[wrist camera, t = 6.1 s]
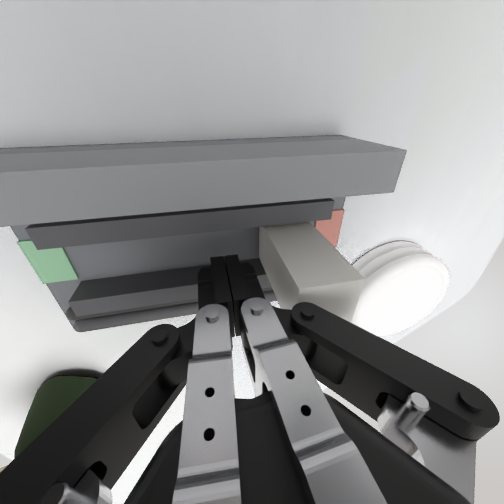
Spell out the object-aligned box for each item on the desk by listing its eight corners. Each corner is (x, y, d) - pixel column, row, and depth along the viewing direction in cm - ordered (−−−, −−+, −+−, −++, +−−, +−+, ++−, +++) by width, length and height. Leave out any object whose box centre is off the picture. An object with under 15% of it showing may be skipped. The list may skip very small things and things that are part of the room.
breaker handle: (259, 219, 15) (299, 289, 10) (302, 214, 16) (365, 278, 10) (259, 257, 17) (293, 336, 11) (298, 252, 18) (350, 325, 12)
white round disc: (405, 218, 21) (438, 237, 19) (433, 274, 27) (463, 295, 24) (317, 286, 24) (335, 312, 21) (359, 325, 29) (378, 351, 26)
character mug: (25, 352, 20) (-167, 639, 9) (118, 350, 22) (50, 582, 12) (45, 417, 25) (-64, 651, 15) (119, 411, 27) (72, 610, 17)
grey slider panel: (-4, 148, 13) (-132, 179, 8) (340, 135, 16) (406, 150, 11) (84, 309, 19) (46, 382, 14) (316, 275, 22) (351, 324, 17)
